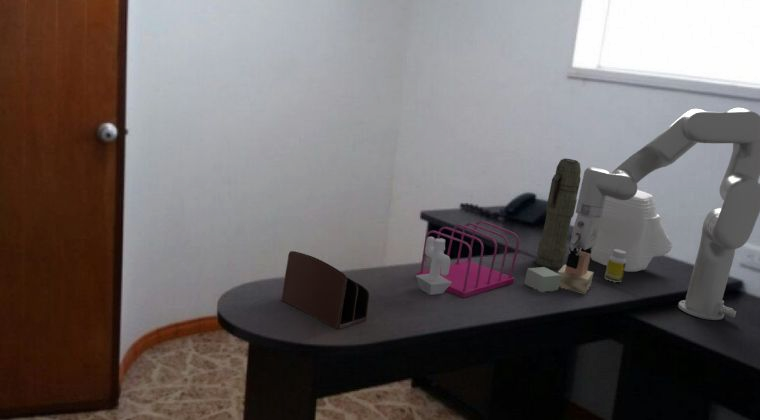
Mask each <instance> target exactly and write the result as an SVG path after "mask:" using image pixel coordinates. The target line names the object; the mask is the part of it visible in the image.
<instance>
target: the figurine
mask: <svg viewBox="0 0 760 420" xmlns="http://www.w3.org/2000/svg"><path fill="white" fill-rule="evenodd" d="M445 250H446V239H445V238H442V237H440V238H439V239H437V238H435V237H434V236H428V238H427V241H426V247H425V257H427V258H430V259H431V262H430V268H429V269H430V273H429V274H422V275H417V274H415V278H416V280H417V283H418V286H419V288H420V290H421V291H423V292H425V293H427V294H428V295H430V296H431V295H432V296H433V295H441V294H444V293H445V291H447V290H446V289H447V288H448V287H449V286H450V284H451V283H452V282H451V281H449V280H447V279H445V278H444V277H442V276H440V269H441V275H444V276H446V275H448V273H449V268H450V264H451V258H450V255H449V256H447V254H445V253H444V252H445Z"/></svg>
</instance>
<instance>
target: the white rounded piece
mask: <svg viewBox="0 0 760 420" xmlns="http://www.w3.org/2000/svg"><path fill="white" fill-rule="evenodd" d="M655 205H656V204H655V199H654V196H653V195H652V194H651V193H648V192H646V191H643V190H640V189H637V192H636V194H635V196H634V197H633V198H631V199H629V200H618V199H615V198H612V197H609V196H606V199H605V204H604V208H603V213H602V217H601V218H600V224H599V231H598V236H597V242H596V245H595V246H593V247H592V251H591V256H590V260H592V261H593V262H597V263H598V264H601V265H603V266H606V267H607V264H608V260H609V257H610V256H612V255H613V254H612V253H613V250H614V249H619V250H623V251H625V252H626V256H625V257H624V258H625V259H626V265H625V269H624V272H628V273H629V272H631V273H633V272H634V273H635V272H639V271H643V270H646V269H647V268H648V265H649V264H650V263H651V261H652V259H653V258H657V257H662V256H665V255H667V254H669V252H671V250H672V248H673V243H672V240H671V239H670V237H668V234H667V233H666V231H665V227H664V226H663V223H662V221H661V217H660V214H658V213H657V210H656V206H655Z"/></svg>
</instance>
